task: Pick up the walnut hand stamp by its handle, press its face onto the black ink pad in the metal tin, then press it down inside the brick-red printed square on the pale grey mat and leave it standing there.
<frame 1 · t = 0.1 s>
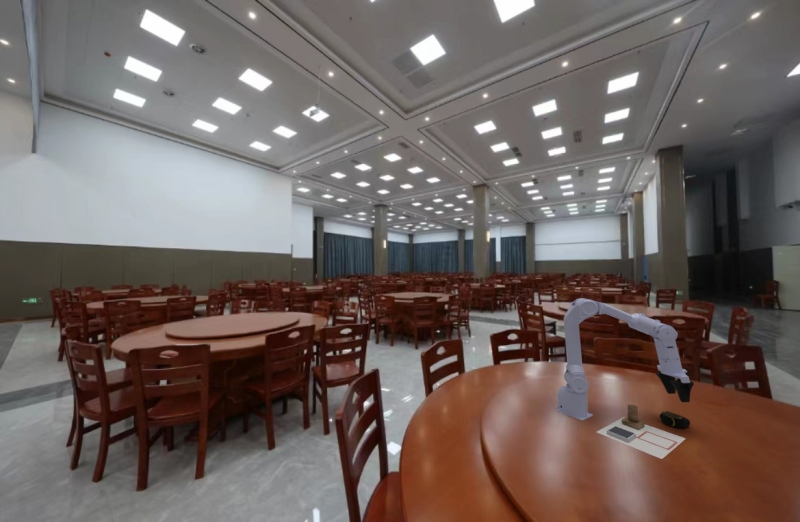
hand: (678, 397, 102), 11 cm above the table, fingers open, 7 cm apart
stamp: (633, 425, 102), resting on stamping mat
tape measure: (673, 425, 104), on the table
stamping mat: (640, 436, 96), on the table
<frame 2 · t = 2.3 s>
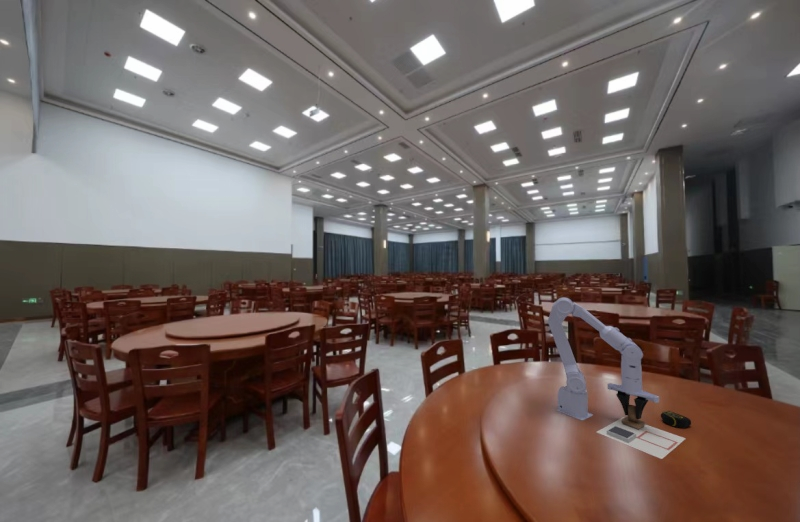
hand: (632, 416, 102), 3 cm above the table, fingers closed on stamp, 3 cm apart
stamp: (633, 425, 102), resting on stamping mat, touching gripper
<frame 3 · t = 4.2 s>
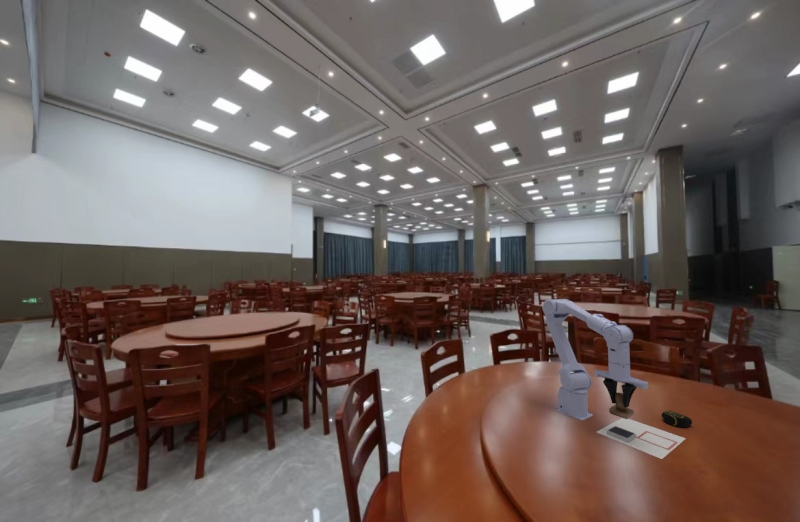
hand: (620, 404, 96), 10 cm above the table, fingers closed on stamp, 3 cm apart
stamp: (621, 414, 96), point 7 cm above the table, touching gripper
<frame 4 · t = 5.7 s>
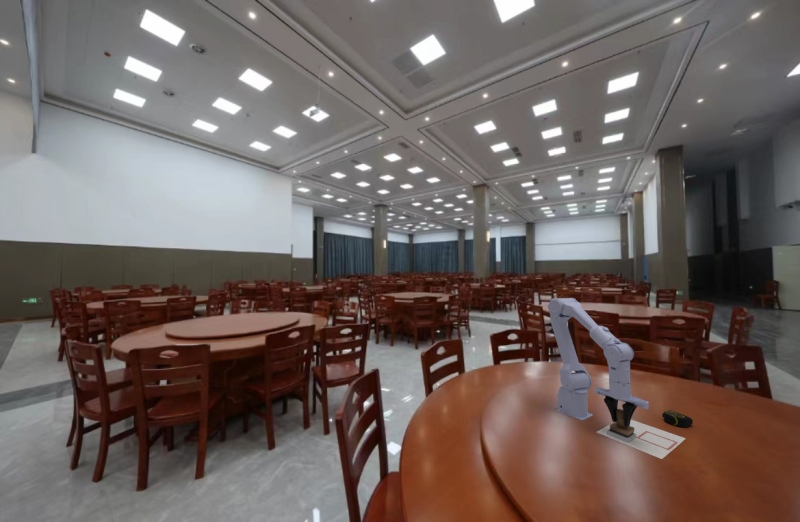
hand: (621, 423, 95), 4 cm above the table, fingers closed on stamp, 3 cm apart
stamp: (622, 431, 95), point 2 cm above the table, touching gripper, stamping mat
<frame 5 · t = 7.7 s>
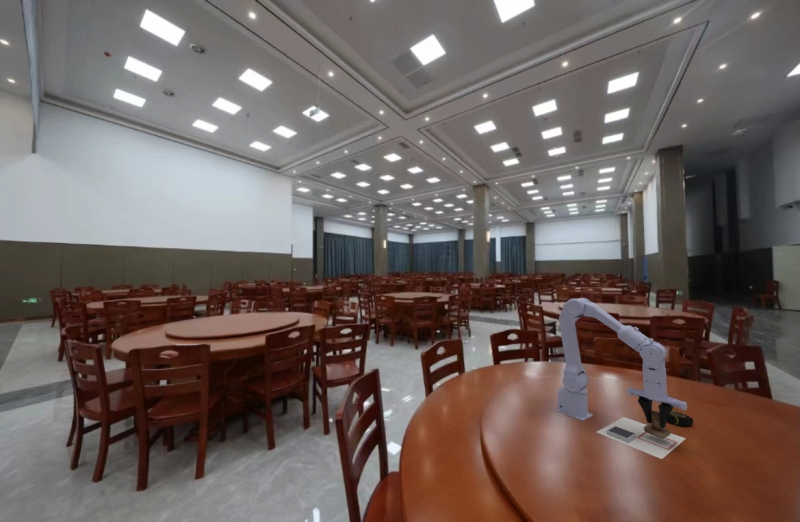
hand: (656, 424, 93), 5 cm above the table, fingers closed on stamp, 3 cm apart
stamp: (657, 433, 93), point 2 cm above the table, touching gripper
when the fingers open (4 cm above the table, at t = 9.2 s): stamp stays where it is, resting on stamping mat.
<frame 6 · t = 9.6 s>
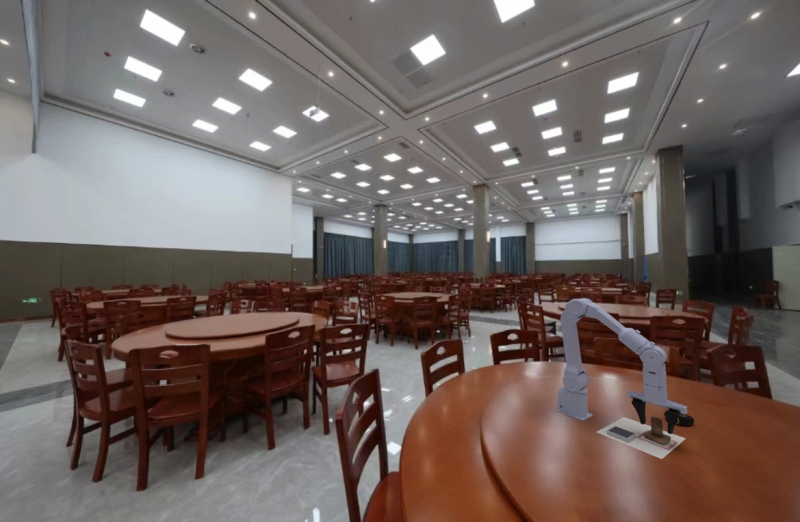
hand: (656, 428, 93), 4 cm above the table, fingers open, 6 cm apart
stamp: (657, 439, 93), resting on stamping mat
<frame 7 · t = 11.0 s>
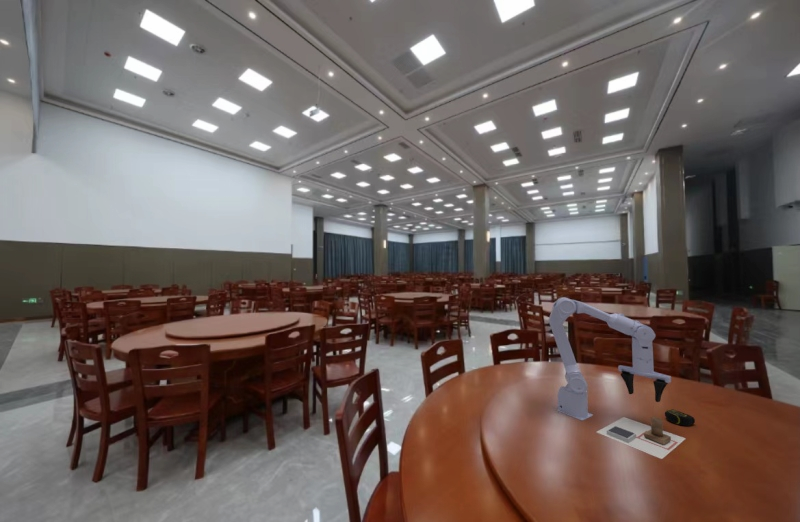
hand: (644, 397, 103), 10 cm above the table, fingers open, 7 cm apart
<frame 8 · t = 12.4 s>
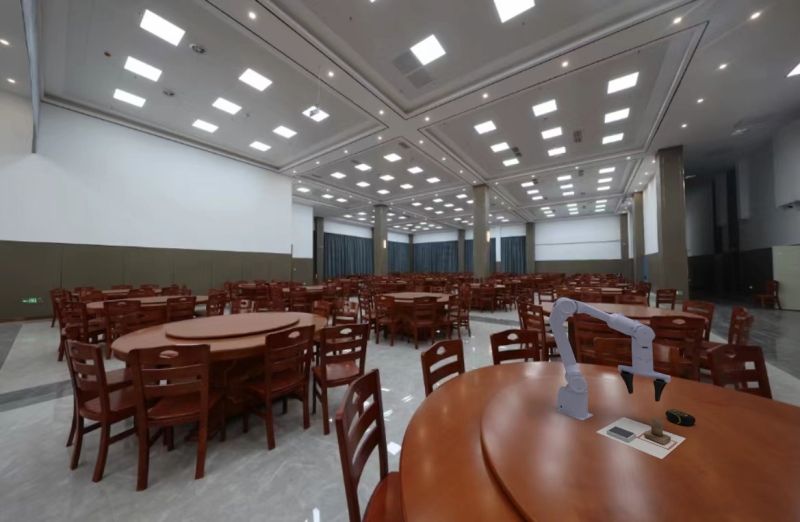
hand: (643, 396, 103), 10 cm above the table, fingers open, 7 cm apart
at the end: stamp 0.4 cm from the target spot, resting on stamping mat; stamp tilted 0°; the gripper is holding nothing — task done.
